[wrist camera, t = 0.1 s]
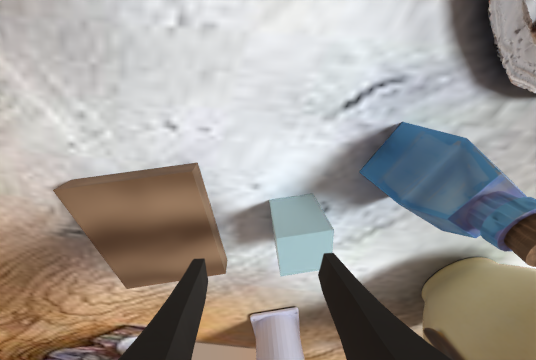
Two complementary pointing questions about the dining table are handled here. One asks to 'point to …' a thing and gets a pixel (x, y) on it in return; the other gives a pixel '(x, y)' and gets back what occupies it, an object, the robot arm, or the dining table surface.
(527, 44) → the food plate
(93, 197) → the walnut block
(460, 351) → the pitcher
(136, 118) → the dining table surface
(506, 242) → the perfume bottle
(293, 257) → the blue block
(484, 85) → the dining table surface
